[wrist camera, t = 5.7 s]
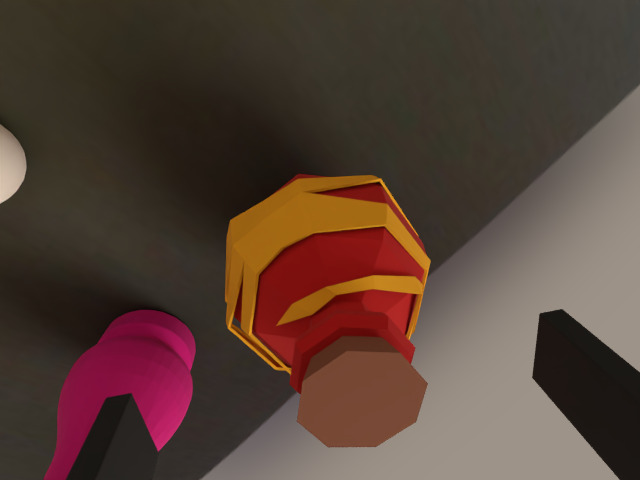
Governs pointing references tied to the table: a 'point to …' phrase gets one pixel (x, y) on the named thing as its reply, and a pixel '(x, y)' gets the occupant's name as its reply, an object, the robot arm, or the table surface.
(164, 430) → the pepper mill
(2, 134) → the egg
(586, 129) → the table surface
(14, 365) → the table surface
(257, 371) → the table surface
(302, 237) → the potion bottle
